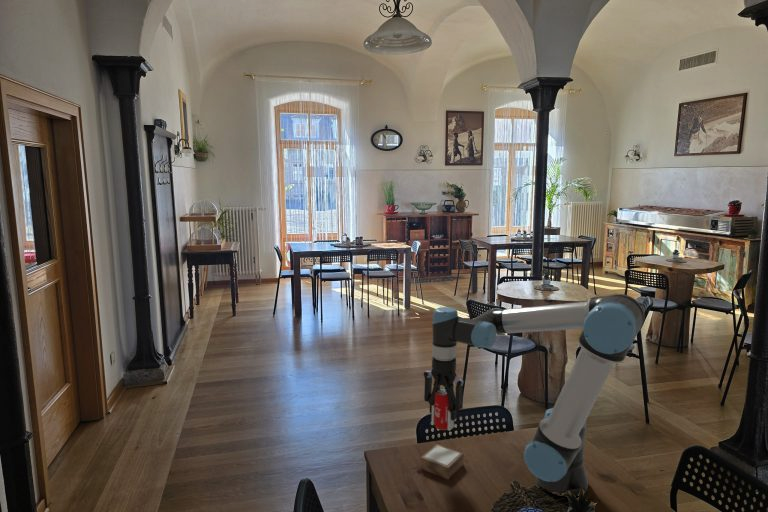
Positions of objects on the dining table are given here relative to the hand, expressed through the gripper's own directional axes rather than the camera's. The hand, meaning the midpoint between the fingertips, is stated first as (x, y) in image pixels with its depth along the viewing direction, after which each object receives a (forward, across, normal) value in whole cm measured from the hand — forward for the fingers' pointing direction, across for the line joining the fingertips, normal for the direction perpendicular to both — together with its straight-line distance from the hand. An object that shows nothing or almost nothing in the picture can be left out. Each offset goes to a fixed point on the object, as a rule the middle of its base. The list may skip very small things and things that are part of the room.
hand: (442, 425), depth 164 cm
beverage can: (0, 0, 0) cm, 0 cm away
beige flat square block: (+14, 0, 0) cm, 14 cm away
